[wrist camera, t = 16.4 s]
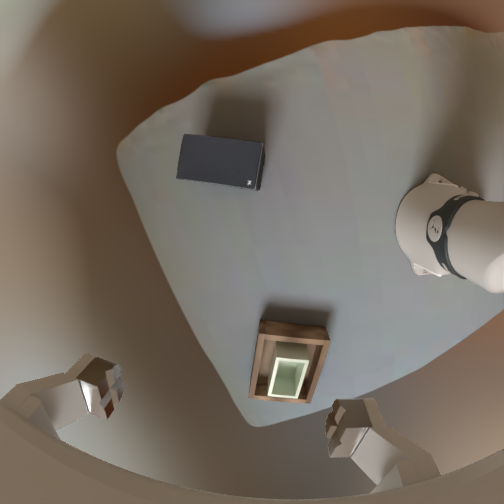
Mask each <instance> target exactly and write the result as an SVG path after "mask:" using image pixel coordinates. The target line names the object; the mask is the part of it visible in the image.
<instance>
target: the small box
mask: <svg viewBox="0 0 504 504" xmlns="http://www.w3.org/2000/svg"><path fill="white" fill-rule="evenodd" d="M264 161H265V153H264V147H263V143H260V142H253V141H246V140H238V139H230V138H221V137H212V136H202V135H192V134H184V135H183V139H182V144H181V150H180V156H179V162H178V168H177V175H176V179H181V180H189V181H196V182H203V183H210V184H217V185H224V186H231V187H236V188H241V189H243V188H244V189H251V190H257V191H258V190H260V182H261V179H262V178H261V176H262V171H263V166H264Z"/></svg>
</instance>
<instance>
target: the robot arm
mask: <svg viewBox="0 0 504 504" xmlns="http://www.w3.org/2000/svg"><path fill="white" fill-rule="evenodd" d="M439 181H440V183H439ZM466 192H467V189H466V188H464V187H460V188H459V187H458V186H457V185H455V184H453V183H451V182H450V181H448V180H447V179H445V178H443V177H442V176H440V175H439V174H435V173H432V174H430V175H429V177H428V178H427V179H426V180H425V182H424V183H423V184H421V185H419V186H417V187H415V188H414V189H412V190H411V191H410V192H409V193H408V194H407V195H406V196H405V197H404V199H403V200H402V202H401V204H400V206H399V209H398V212H397V217H396V235H397V239H398V242H399V245H400V247H401V249H402V250H403V252H404V253H405V254H406V256H407V257H408V258H409V259H410V261H411V265H412V269H413V271H414V273H415V274H417V275H427V274H435V275H437V276H442V275H447V274H452V275H453V276H456V277H459V278H462V279H468V280H470V281H472V282H474V283H475V284H477V285H479V286H481V287H482V288H484V289H486V290H487V291H489V292H491V293H504V202H493V201H485V200H484V199H482V198H480V197H479V195H478V194H477V193H475V192H472V191H469V192H468V193H466ZM121 373H122V372H121V367H120V366H119V365H118V364H116V363H113V362H110V361H107V360H104V359H102V358H99V357H95V356H93V355H91V354H84V355H83V356H82V357H81V358H80V359H79V360H78V361H77V362H76V363H75V364H74V365H73V366H72V367H71V368H70V369H69V371H68V372H66V374H64V373H59V374H55V375H52V376H48V377H44V378H41V379H37V380H33V381H29V382H25V383H21V384H17V385H16V386H15V387H14V388H13V389H12V390H11V391H10V392H9V393H7V394H6V395H5V396H4V397H3V398H2V399H1V400H0V504H504V449H502V450H500V451H498V452H496V453H494V454H492V455H490V456H488V457H486V458H484V459H482V460H479V461H477V462H475V463H473V464H470V465H468V466H466V467H463V468H461V469H458V470H456V471H453V472H450V473H447V474H445V475H442V476H441V475H440V472H439V470H438V468H437V466H436V464H435V462H434V460H433V457H432V455H431V454H430V453H429V452H427V451H426V450H424V449H423V448H421V447H420V446H418V445H417V444H415V443H414V442H412V441H411V440H409V439H408V438H406V437H405V436H403V435H402V434H400V433H399V432H397V431H396V430H395V429H393V428H392V427H390V426H386V425H385V423H384V420H383V418H382V415H381V413H380V411H379V408H378V406H377V404H376V401H375V399H373V398H361V399H336V400H335V401H334V403H333V405H332V408H333V411H332V412H331V413H329V414H328V417H327V419H326V425H325V433H326V436H327V437H328V438H329V439H330V441H329V443H328V450H329V455H330V457H351V459H352V460H353V461H354V462H355V463H356V464H357V465H358V466H359V467H360V468H361V469H362V470H363V471H364V472H365V473H366V474H367V475H368V476H369V477H370V479H372V481H373V482H375V484H376V485H377V486H376V487H375V488H374V489H373V491H372V492H371V493H370V494H363V495H356V496H349V497H339V498H327V499H305V500H284V499H283V500H282V499H281V500H280V499H261V498H249V497H239V496H231V495H224V494H217V493H211V492H206V491H200V490H195V489H191V488H186V487H181V486H177V485H174V484H170V483H166V482H162V481H159V480H155V479H152V478H149V477H146V476H142V475H140V474H136V473H134V472H131V471H128V470H125V469H123V468H120V467H117V466H115V465H112V464H110V463H108V462H105V461H102V460H100V459H98V458H96V457H93V456H92V455H89V454H87V453H85V452H83V451H81V450H79V449H77V448H75V447H73V446H71V445H69V444H67V443H66V442H64V441H62V440H60V438H59V436H58V434H57V432H56V430H58V429H60V428H62V427H64V426H66V425H68V424H71V423H72V422H74V421H77V420H79V419H81V418H83V417H85V416H87V415H88V414H89V413H91V414H93V415H96V416H98V417H101V418H104V419H108V418H109V417H110V415H111V414H112V412H113V411H114V406H113V404H116V403H118V402H119V401H120V400H121V398H122V395H123V392H124V383H123V380H122V379H121V378H120V374H121Z"/></svg>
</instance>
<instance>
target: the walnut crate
mask: <svg viewBox="0 0 504 504" xmlns="http://www.w3.org/2000/svg"><path fill="white" fill-rule="evenodd" d="M275 341H283V342H292V343H303V344H306V347H307V351H308V356H309V363H308V367H307V370H306V373H305V377H304V380H303V383H302V386H301V390H300V393H299V396H298V399H294V398H282V397H272V396H267V394H268V374H269V369H270V364H271V360H272V355H273V350H274V345H275ZM329 343H330V339H329V336H328V333H327V330H326V327H323V326H312V325H302V324H293V323H284V322H275V321H267V320H260V323H259V330H258V336H257V343H256V349H255V356H254V362H253V368H252V374H251V381H250V389H249V398H251V399H259V400H269V401H280V402H293V403H310V402H311V400H312V397H313V394H314V391H315V388H316V385H317V382H318V379H319V376H320V373H321V370H322V367H323V363H324V360H325V357H326V353H327V350H328V347H329Z"/></svg>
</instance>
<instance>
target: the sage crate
mask: <svg viewBox="0 0 504 504" xmlns="http://www.w3.org/2000/svg"><path fill="white" fill-rule="evenodd" d="M308 363H309V356H308V351H307V347H306V344H303V343H292V342H283V341H275V345H274V350H273V355H272V360H271V364H270V369H269V374H268V394H267V396H272V397H282V398H294V399H298V396H299V393H300V390H301V386H302V383H303V380H304V377H305V373H306V370H307V367H308Z"/></svg>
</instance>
